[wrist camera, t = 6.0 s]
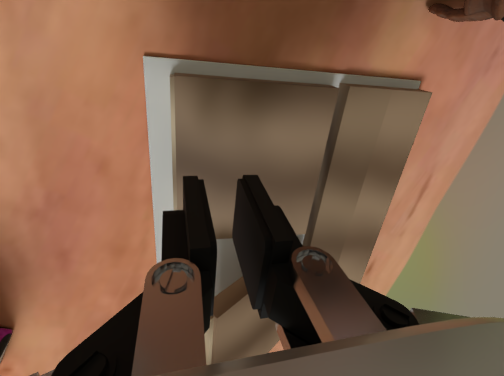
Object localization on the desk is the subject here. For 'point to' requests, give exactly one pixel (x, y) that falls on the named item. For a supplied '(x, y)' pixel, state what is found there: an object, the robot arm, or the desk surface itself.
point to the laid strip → (362, 170)
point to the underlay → (161, 141)
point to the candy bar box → (4, 340)
